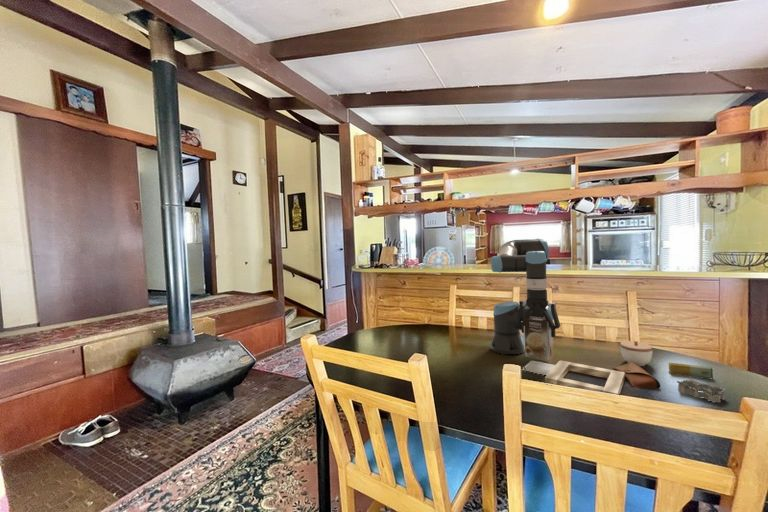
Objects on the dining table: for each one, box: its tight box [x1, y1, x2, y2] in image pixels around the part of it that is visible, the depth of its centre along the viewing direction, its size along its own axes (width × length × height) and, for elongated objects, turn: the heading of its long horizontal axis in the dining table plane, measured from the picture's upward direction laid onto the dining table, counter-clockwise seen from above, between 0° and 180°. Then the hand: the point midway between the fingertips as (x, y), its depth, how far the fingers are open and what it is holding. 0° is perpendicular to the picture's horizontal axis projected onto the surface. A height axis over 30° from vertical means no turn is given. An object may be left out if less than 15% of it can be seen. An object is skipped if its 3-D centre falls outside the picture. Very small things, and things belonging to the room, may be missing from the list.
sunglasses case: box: [611, 361, 661, 390], centre depth 121 cm, size 18×7×7 cm, turn 167°
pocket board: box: [544, 360, 626, 395], centre depth 120 cm, size 22×21×2 cm
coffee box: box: [524, 316, 553, 362], centre depth 133 cm, size 9×6×16 cm
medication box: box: [668, 362, 714, 380], centre depth 121 cm, size 12×3×4 cm, turn 57°
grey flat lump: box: [676, 379, 726, 403], centre depth 106 cm, size 11×8×4 cm
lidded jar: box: [619, 340, 654, 367], centre depth 134 cm, size 11×11×9 cm
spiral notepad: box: [521, 360, 556, 376], centre depth 134 cm, size 10×12×1 cm
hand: (538, 342), depth 133 cm, fingers closed on coffee box, 9 cm apart
